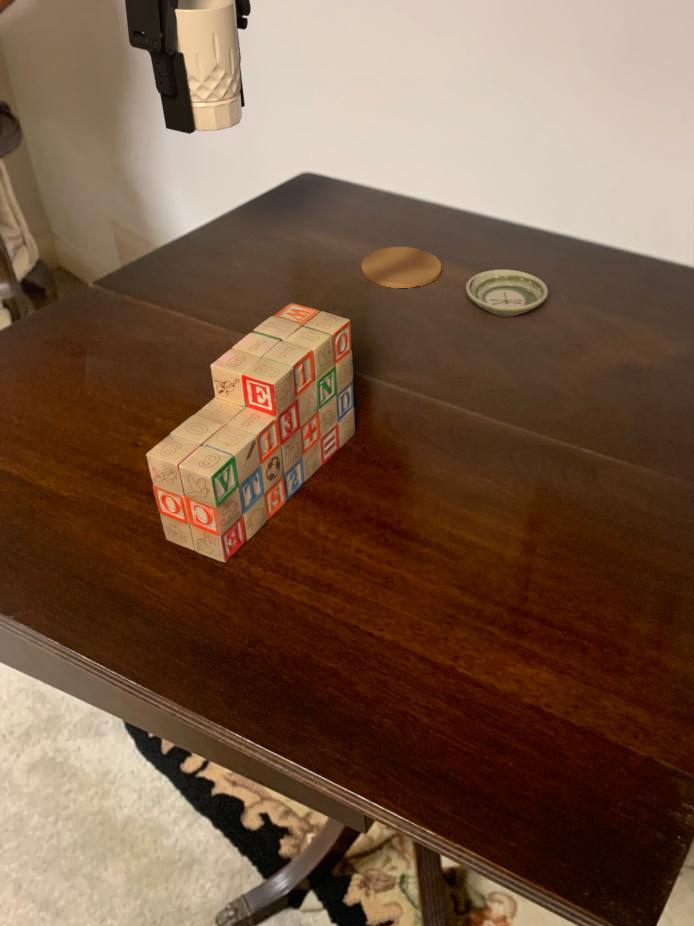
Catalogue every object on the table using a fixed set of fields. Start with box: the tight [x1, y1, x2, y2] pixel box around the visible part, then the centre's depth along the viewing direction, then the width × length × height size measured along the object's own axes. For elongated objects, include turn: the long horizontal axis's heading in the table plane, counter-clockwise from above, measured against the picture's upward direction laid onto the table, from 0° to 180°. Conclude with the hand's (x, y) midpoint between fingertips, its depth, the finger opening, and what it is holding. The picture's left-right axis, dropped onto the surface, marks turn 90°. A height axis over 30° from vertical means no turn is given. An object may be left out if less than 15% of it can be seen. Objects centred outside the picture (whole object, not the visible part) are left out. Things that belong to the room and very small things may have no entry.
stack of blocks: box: [145, 302, 356, 563], centre depth 76 cm, size 21×6×12 cm, turn 154°
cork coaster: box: [360, 246, 443, 289], centre depth 110 cm, size 10×10×1 cm
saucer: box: [465, 269, 549, 318], centre depth 104 cm, size 10×10×2 cm
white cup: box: [160, 0, 243, 132], centre depth 82 cm, size 8×8×10 cm
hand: (206, 116), depth 86 cm, fingers closed on white cup, 8 cm apart
